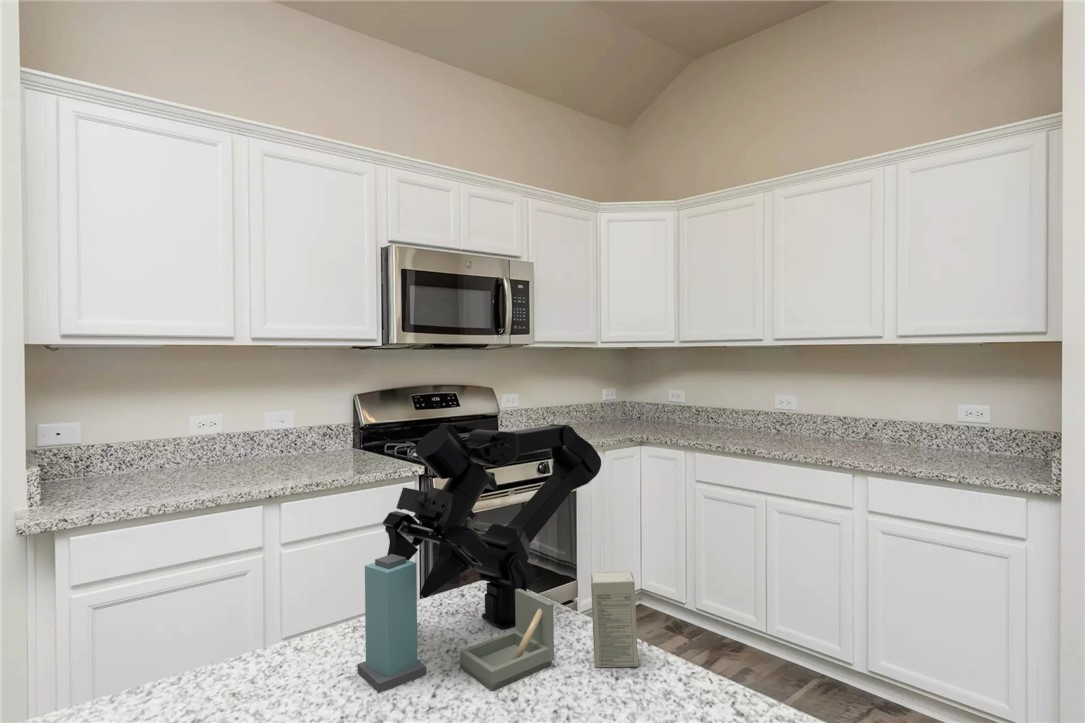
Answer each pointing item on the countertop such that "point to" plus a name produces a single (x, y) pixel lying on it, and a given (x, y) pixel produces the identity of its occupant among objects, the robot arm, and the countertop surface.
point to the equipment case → (514, 645)
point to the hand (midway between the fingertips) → (402, 588)
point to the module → (391, 614)
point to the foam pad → (384, 682)
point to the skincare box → (614, 619)
